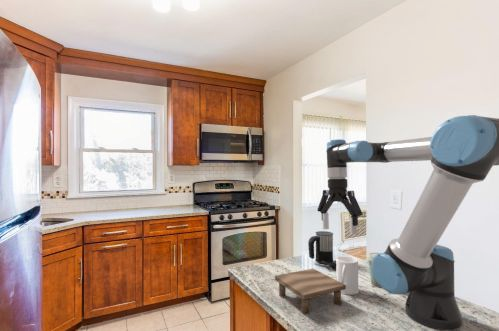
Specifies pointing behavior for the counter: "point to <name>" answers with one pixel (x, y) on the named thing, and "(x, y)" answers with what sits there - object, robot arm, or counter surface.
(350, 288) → the mug
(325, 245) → the milk frother
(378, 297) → the counter surface
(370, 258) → the coffee cup
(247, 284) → the counter surface
